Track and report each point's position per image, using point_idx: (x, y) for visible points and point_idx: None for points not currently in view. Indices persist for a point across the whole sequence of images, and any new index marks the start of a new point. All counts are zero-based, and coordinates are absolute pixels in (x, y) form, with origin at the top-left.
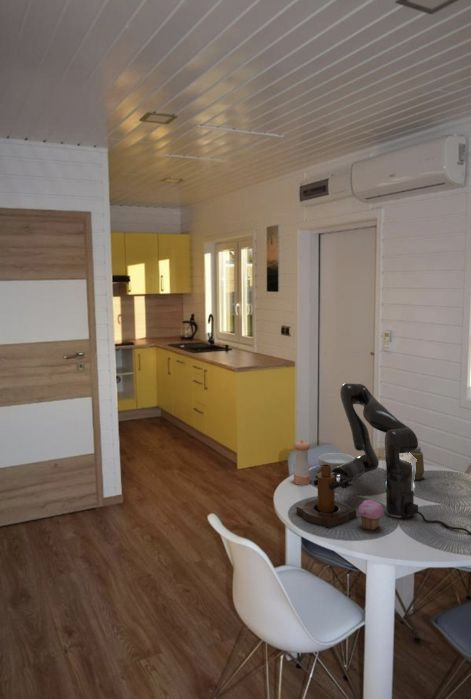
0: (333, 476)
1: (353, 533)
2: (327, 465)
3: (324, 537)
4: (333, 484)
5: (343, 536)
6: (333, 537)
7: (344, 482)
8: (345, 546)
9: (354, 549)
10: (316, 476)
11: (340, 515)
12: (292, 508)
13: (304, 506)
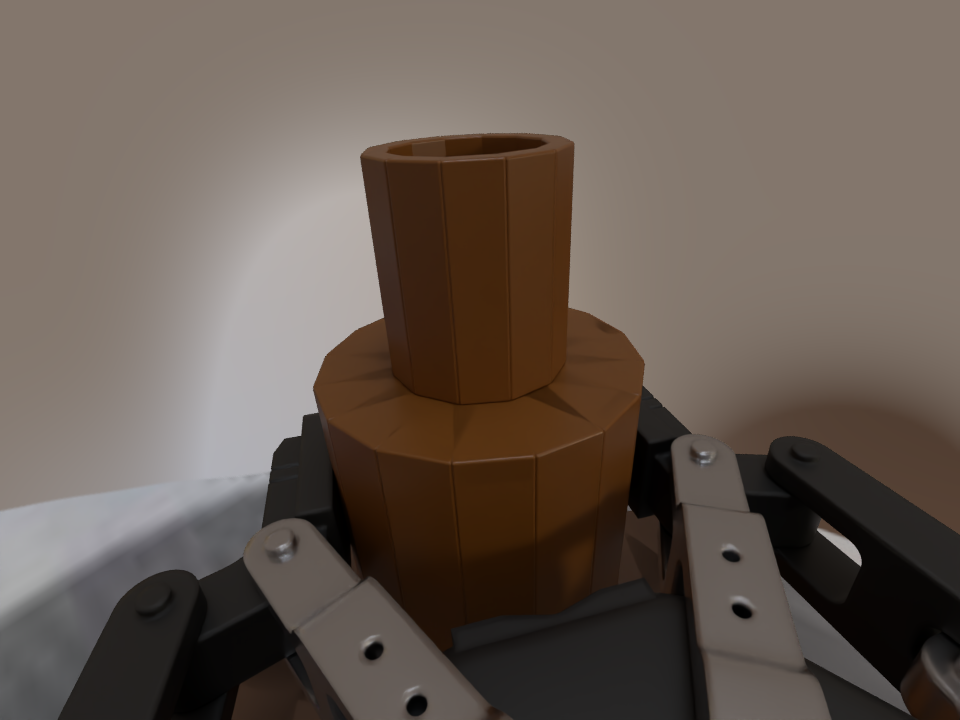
0: (347, 410)
1: (73, 669)
2: (500, 178)
3: (257, 487)
4: (304, 453)
5: (144, 574)
6: (206, 520)
7: (116, 618)
8: (91, 503)
9: (23, 515)
10: (773, 448)
11: (245, 685)
12: (791, 595)
13: (639, 555)
